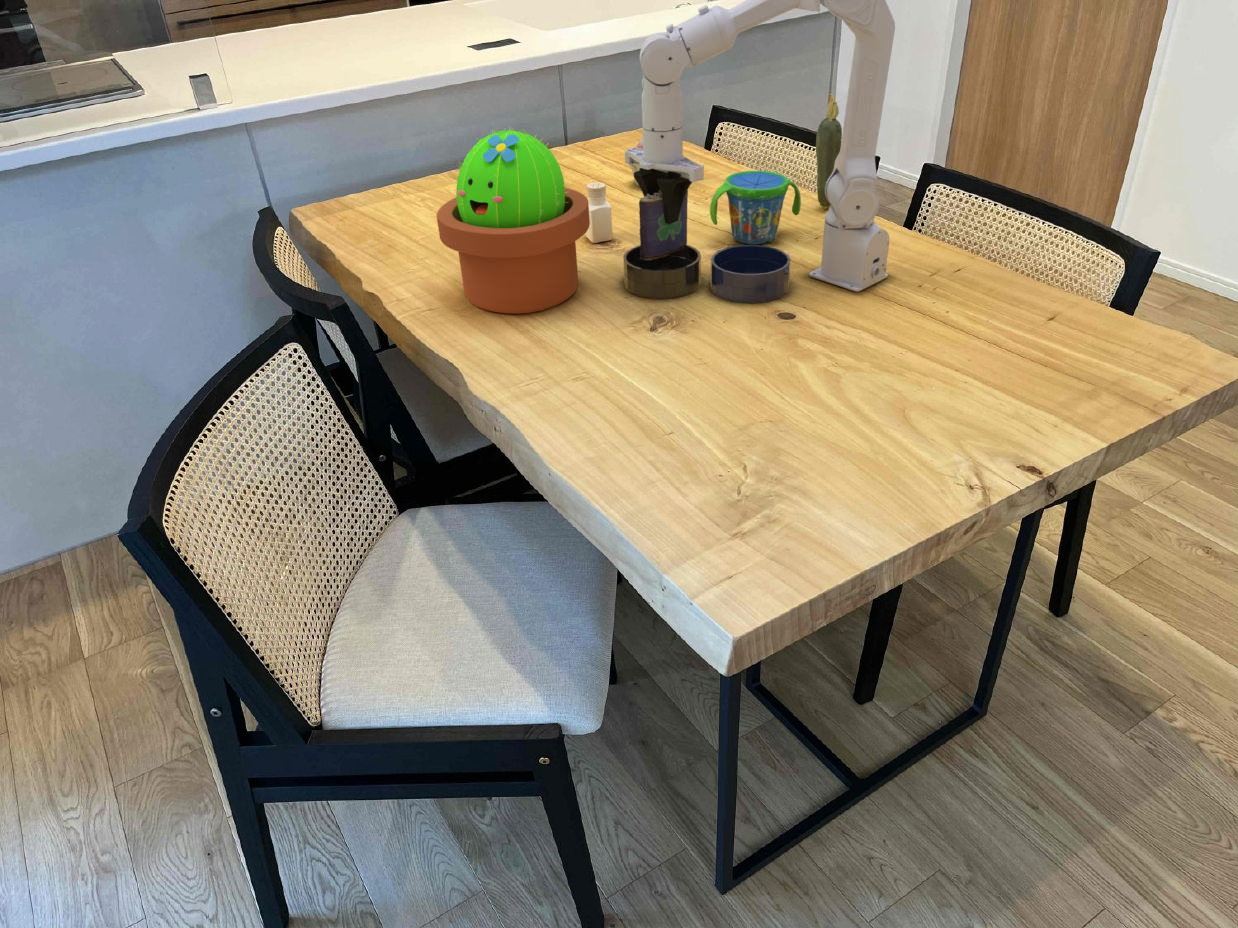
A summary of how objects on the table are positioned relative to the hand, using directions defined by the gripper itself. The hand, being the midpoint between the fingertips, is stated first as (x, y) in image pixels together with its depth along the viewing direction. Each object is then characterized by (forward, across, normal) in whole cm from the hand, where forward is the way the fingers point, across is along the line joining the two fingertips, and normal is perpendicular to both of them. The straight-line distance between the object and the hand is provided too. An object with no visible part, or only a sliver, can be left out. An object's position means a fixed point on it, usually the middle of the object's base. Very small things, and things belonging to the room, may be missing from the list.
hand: (664, 219), depth 140 cm
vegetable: (+10, -2, +43) cm, 44 cm away
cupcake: (+10, -37, +33) cm, 51 cm away
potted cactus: (+10, -14, -17) cm, 25 cm away
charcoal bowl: (+10, 0, 0) cm, 10 cm away
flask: (+5, 0, 0) cm, 5 cm away
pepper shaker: (+10, -22, +6) cm, 25 cm away
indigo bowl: (+10, +11, +8) cm, 17 cm away
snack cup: (+10, -2, +24) cm, 26 cm away
